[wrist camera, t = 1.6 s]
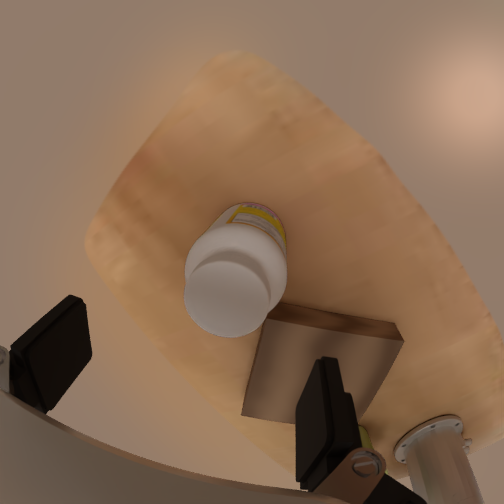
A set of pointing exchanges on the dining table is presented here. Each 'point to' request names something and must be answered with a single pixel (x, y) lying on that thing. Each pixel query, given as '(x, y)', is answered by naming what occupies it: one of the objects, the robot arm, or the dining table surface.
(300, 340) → the brown wooden square slab
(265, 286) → the supplement bottle
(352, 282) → the dining table surface
